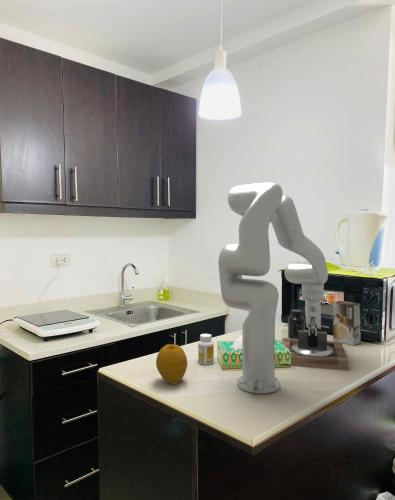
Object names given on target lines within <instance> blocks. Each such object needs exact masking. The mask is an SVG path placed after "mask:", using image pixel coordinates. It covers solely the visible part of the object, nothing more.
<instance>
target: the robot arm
mask: <svg viewBox="0 0 395 500" xmlns="http://www.w3.org/2000/svg"><path fill="white" fill-rule="evenodd" d="M227 203H228V206H229V208H230V210H232V211H233V212H234V213H235V214H237V215H239V216H241V219H240V222H239V224H238V242H237V243H235V242H234V243H233V242H231V243H228V244H226V245H224V246H223V247H222V248H221V250H220V253H219V255H218V260H217V261H218V273H219V285H220V292H221V294H220V295H221V298H222V300H223V303H224V305H226V306H227V307H229V308H232V309H236V310H242V311H246V312H248V314H247V316H246V317H245V320H244V321H243V323H242V329H241V331H242V333H241V334H242V335H241V336H242V346H241V347H242V375H241V376H239V377H238V378H237V380H236V381H237V382H236V383H237V386H238V387H239V389H241V390H242V391H245V392H247V393H251V394H264V395H265V394H270V393H271V394H272V393H274V392H276V391H278V390H279V389H280V387H281V382H280V380H279V378H277V377H276V375H275V372H276V371H275V370H276V369H275V368H276V366H275V365H276V362H275V361H276V359H275V358H276V354H275V353H276V352H275V351H276V350H275V349H276V348H275V347H276V346H275V345H276V341H275V340H276V339H275V337H276V336H275V335H276V331H275V330H276V314H277V308H278V303H279V290H278V288H277V286H276V285H275V284H273V283H272V282H270V281H268V280H263V279H255V278H254V279H252V278H243V276H246V277H247V276H248V277H262V276H263V277H264V276H265V275H267V274H268V273H269V271H270V269H271V252H270V240H269V239H270V238H269V228H270V227H269V226H270V224H271V225H272V229H273V231H274V235H275V237H276V240H277V242H278V244H279V245H280V246H281V247H282V248H284V249H285V250H288V251H290V252H292V253H294V254H296V255H299V256H300V257H302V258H303V259H305V260H306V261H304V262H301V261H293V262H290V263H289V264H287V265H286V267H285V269H284V278H285V279H286V280H287V281H288V282H289V283H292V284H297V285H298V284H299V285H301V300H302V301H304V302H305V303H304V305H305V306H304V309H305V310H304V311H305V314H304V315H305V323H306V324H305V325H306V328H307V331H309V335H308V347H317V331H318V330H320V329H322V305H321V304H322V303H321V302H322V301H324V297H325V296H324V295H325V293H324V291H325V290H324V288H325V287H324V286H325V285H324V284H325V283H326V282H327V281H328V278H329V270H328V269H329V268H328V264H327V261H326V257H325V255H324V253H323V251H322V250H321V249H320V247H318V245H316V243H314V241H312V240H311V239H310V238H309V237H308V236H306V235H305V234H304V232H303V227H302V225H301V222H300V218H299V215H298V211H297V209H296V208H297V207H296V205H295V203H294V201H293V199H292V197H290V196H288V195H284V194H283V188H282V187H281V185H279V184H278V183H275V182H259V183H251V184H250V183H249V184H240V185H239V184H238V185H235V186H233V187H232V188H231V189H230V191H229V192H228V194H227Z"/></svg>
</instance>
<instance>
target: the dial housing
mask: <svg viewBox="0 0 395 500" xmlns="http://www.w3.org/2000/svg"><path fill="white" fill-rule="evenodd" d="M297 343H298V339H292V338H288V337H282V340H281V345H282V344H284V345H285V346H286V347H287V348H288V349H289V350H290V352H291V365H292V366H294V367H303V368H305V367H306V368H314V369H315V368H317V369H326V370H327V369H329V370H341V371H349V360H348V356H347V354H346V352H345V348H344V344H343V343H342V342H337V341H333V340H327V346H329V347H331V348H332V349H333V355H332V356H331V357H323V356H310V355H297V354H294V353H293V352H292V346H293V345H294V344H297ZM291 365H290V366H291ZM292 366H291V367H292Z"/></svg>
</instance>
